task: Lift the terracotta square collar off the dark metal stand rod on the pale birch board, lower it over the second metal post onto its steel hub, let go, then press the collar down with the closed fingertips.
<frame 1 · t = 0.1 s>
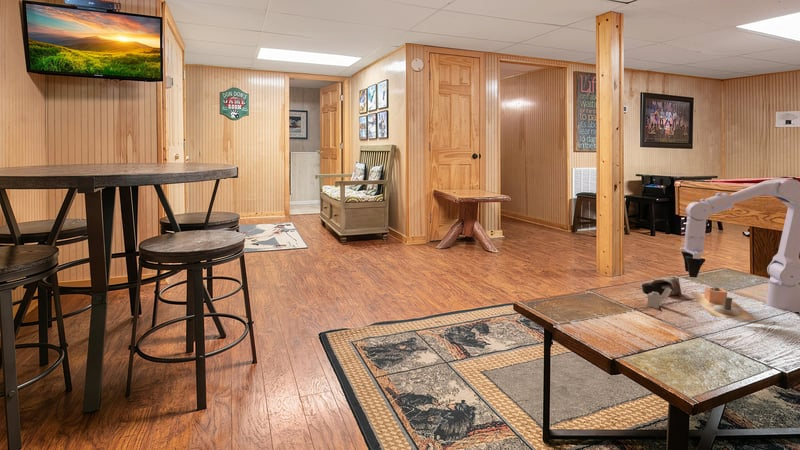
hand: (691, 274, 158), 10 cm above the table, fingers open, 7 cm apart
caster wheel: (658, 294, 168), on the table
collar: (714, 300, 157), point 1 cm above the table, touching board
board: (719, 308, 152), on the table
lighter: (658, 308, 153), on the table
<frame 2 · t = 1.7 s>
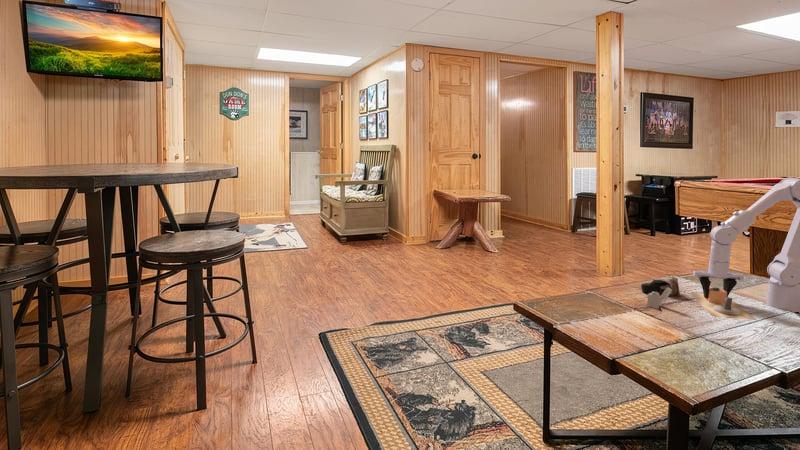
hand: (715, 298, 157), 2 cm above the table, fingers closed on collar, 5 cm apart
collar: (714, 300, 157), point 1 cm above the table, touching board, gripper
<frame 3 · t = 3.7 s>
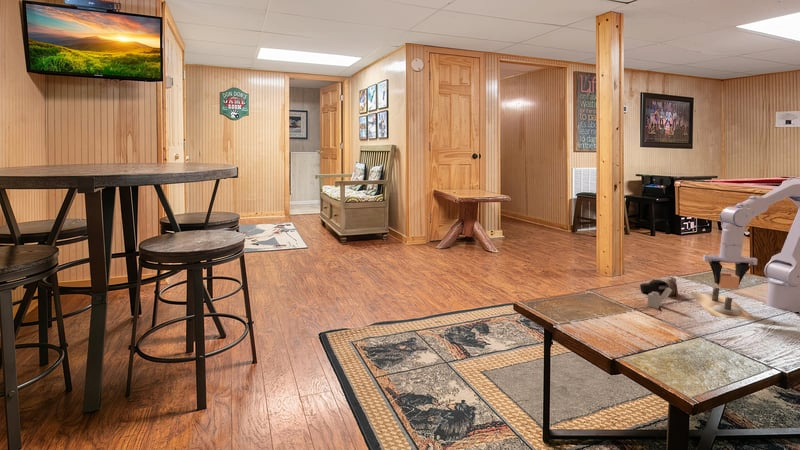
hand: (726, 284, 148), 9 cm above the table, fingers closed on collar, 5 cm apart
collar: (726, 286, 148), point 9 cm above the table, touching gripper
when the fingers open (4 cm above the table, at t = 5.7 s): collar drops 1 cm, resting on board.
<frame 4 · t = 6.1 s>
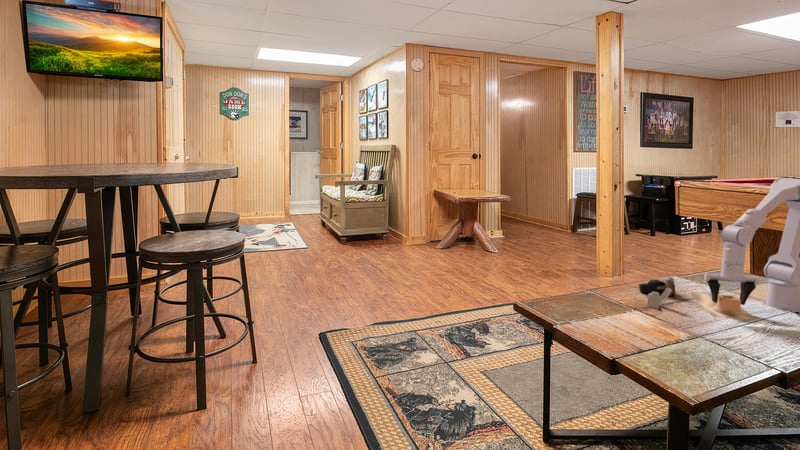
hand: (728, 302, 146), 4 cm above the table, fingers open, 7 cm apart
collar: (727, 308, 147), point 2 cm above the table, touching board
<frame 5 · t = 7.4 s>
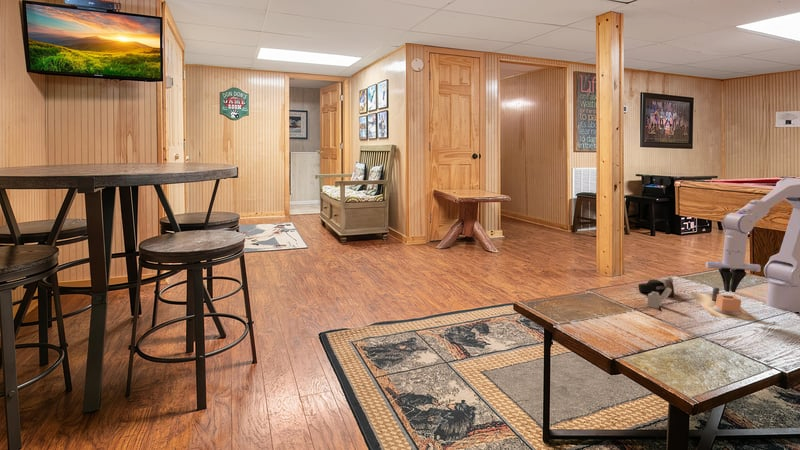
hand: (729, 291, 146), 8 cm above the table, fingers closed
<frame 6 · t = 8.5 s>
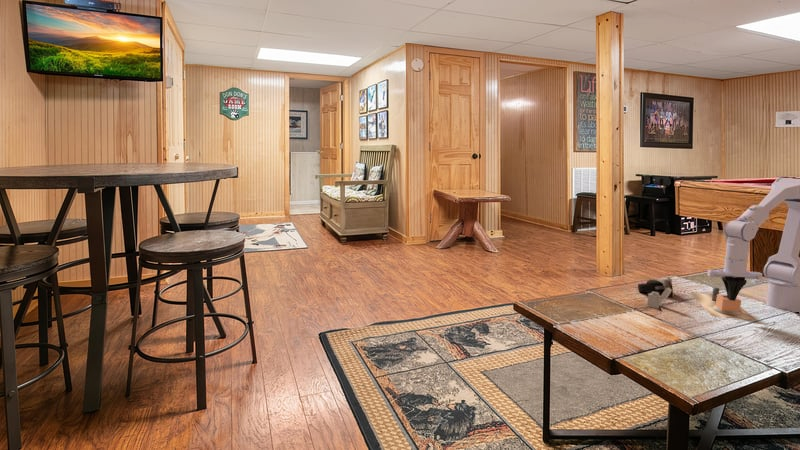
hand: (731, 299, 144), 6 cm above the table, fingers closed, pressing on collar
collar: (727, 308, 147), point 2 cm above the table, touching board, gripper
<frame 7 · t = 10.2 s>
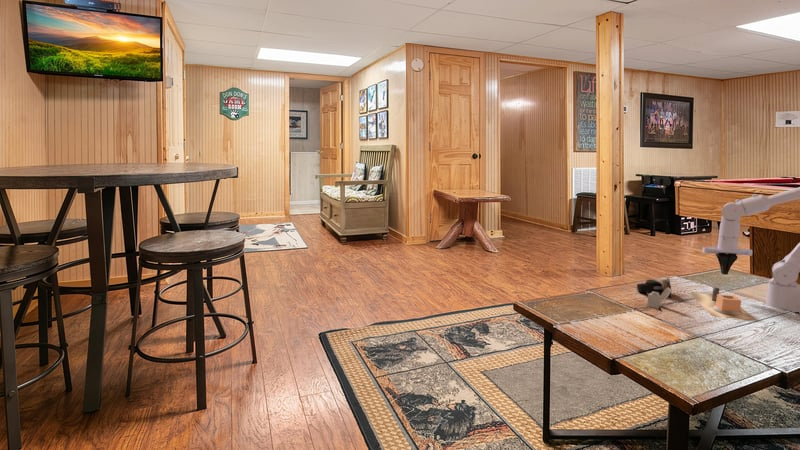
hand: (724, 273, 160), 9 cm above the table, fingers closed
collar: (727, 308, 147), point 2 cm above the table, touching board
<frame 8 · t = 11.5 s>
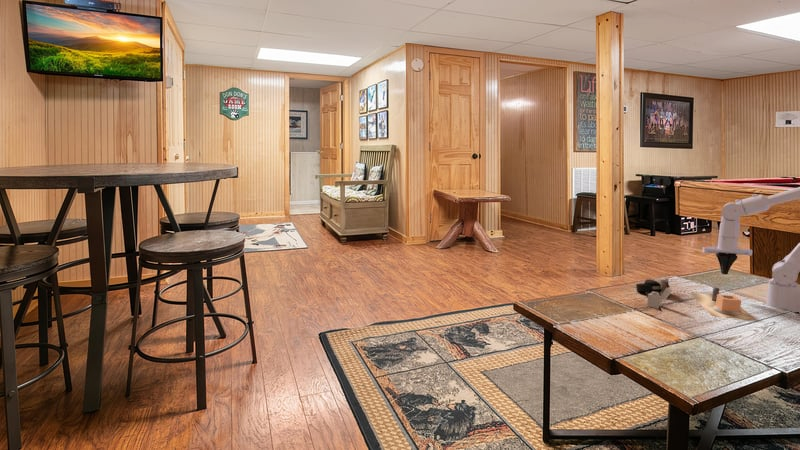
hand: (724, 273, 160), 9 cm above the table, fingers closed
at the end: collar 0.1 cm from the target spot on the board, point 1.8 cm above the board's base; collar tilted 0°; the gripper is holding nothing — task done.
